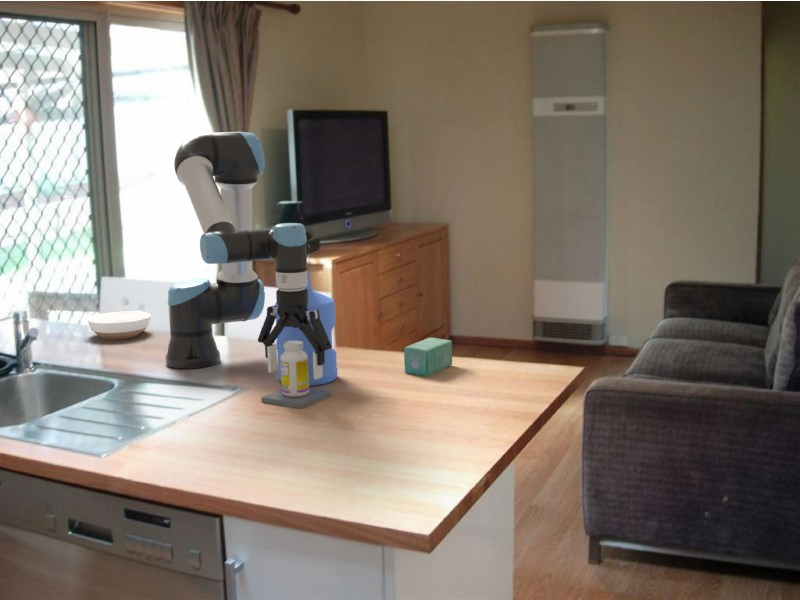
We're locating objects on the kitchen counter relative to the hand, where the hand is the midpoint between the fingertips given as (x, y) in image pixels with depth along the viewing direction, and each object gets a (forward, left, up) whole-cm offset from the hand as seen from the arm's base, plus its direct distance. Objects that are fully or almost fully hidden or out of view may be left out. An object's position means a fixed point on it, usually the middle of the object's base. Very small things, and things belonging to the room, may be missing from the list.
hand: (295, 374), depth 220 cm
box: (+16, +38, -6) cm, 42 cm away
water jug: (-8, +16, -6) cm, 19 cm away
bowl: (-95, +33, -6) cm, 101 cm away
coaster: (0, 0, -6) cm, 6 cm away
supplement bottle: (0, 0, -5) cm, 5 cm away
